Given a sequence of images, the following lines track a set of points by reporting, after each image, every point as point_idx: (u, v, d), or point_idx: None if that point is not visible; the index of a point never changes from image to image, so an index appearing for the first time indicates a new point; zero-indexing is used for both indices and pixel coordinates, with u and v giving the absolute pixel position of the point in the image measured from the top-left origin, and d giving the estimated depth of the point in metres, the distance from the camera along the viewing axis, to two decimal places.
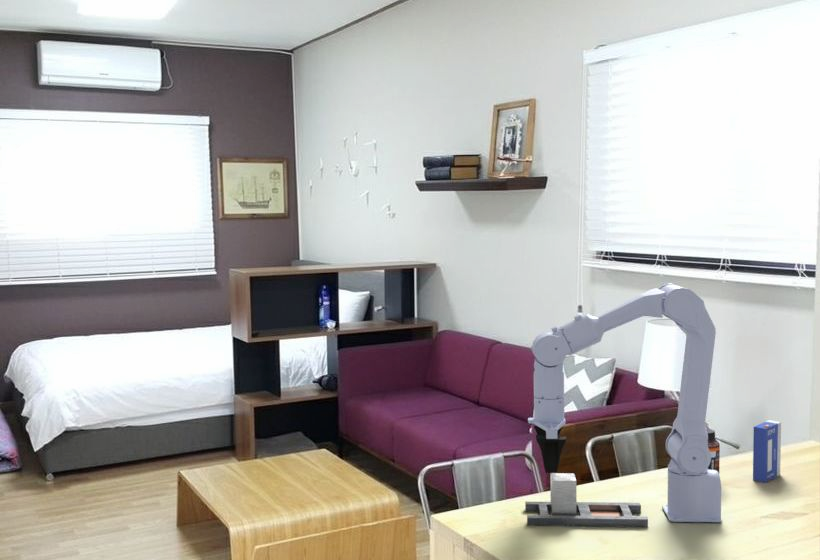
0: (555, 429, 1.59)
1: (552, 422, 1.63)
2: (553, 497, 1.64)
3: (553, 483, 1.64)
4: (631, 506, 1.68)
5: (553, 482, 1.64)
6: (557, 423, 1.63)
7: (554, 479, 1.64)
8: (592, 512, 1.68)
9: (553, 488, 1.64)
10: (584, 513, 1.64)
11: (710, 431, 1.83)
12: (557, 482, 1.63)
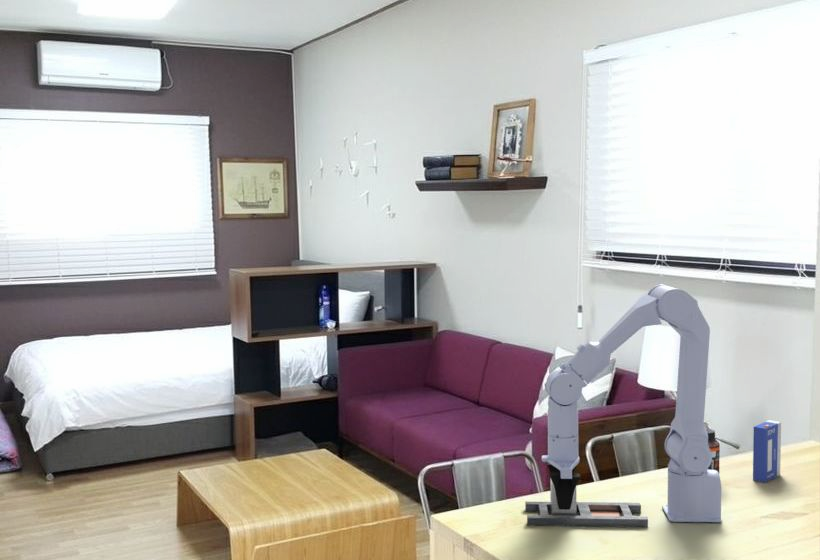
0: (570, 469, 1.58)
1: (566, 461, 1.62)
2: (553, 497, 1.64)
3: None
4: (631, 506, 1.68)
5: None
6: (571, 462, 1.62)
7: None
8: (592, 512, 1.68)
9: (553, 488, 1.64)
10: (584, 513, 1.64)
11: (710, 431, 1.83)
12: None
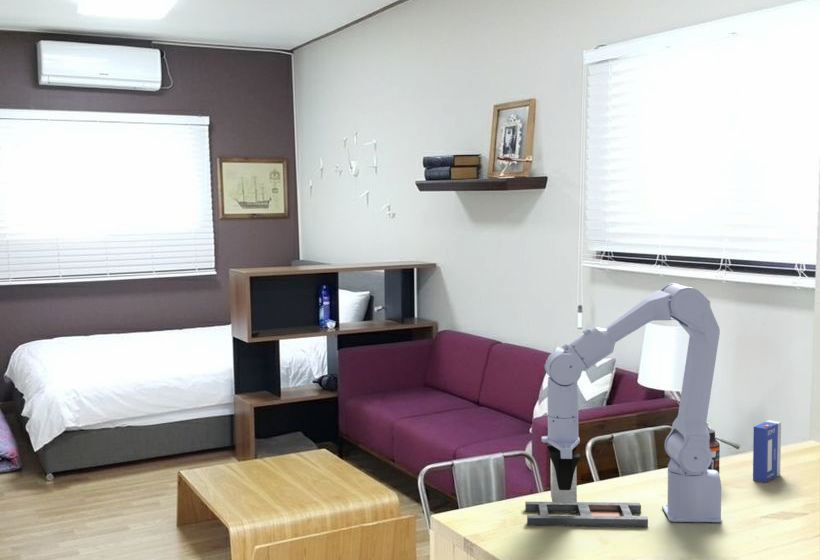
0: (570, 449, 1.58)
1: (566, 441, 1.62)
2: (553, 478, 1.63)
3: (553, 464, 1.63)
4: (631, 506, 1.68)
5: None
6: (571, 442, 1.62)
7: None
8: (592, 512, 1.68)
9: (553, 469, 1.63)
10: (584, 513, 1.64)
11: (710, 431, 1.83)
12: None
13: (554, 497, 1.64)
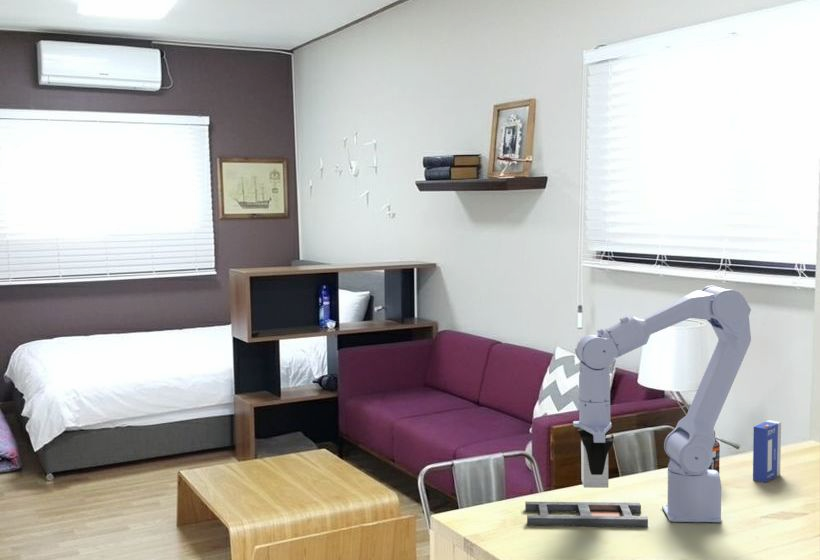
0: (603, 433, 1.57)
1: (598, 425, 1.61)
2: (585, 462, 1.63)
3: (585, 448, 1.62)
4: (631, 506, 1.68)
5: (584, 447, 1.62)
6: (603, 426, 1.61)
7: None
8: (592, 512, 1.68)
9: (585, 453, 1.62)
10: (584, 513, 1.64)
11: None
12: None
13: (586, 482, 1.63)
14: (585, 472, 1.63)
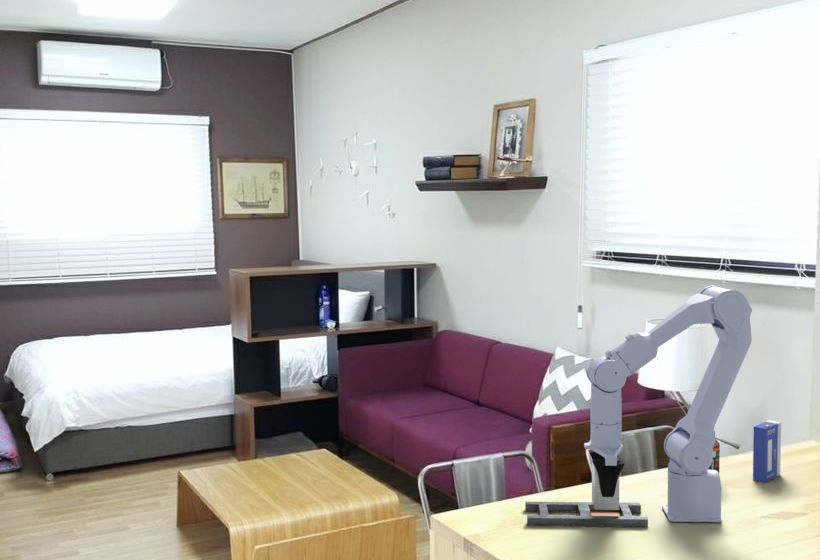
0: (615, 456, 1.57)
1: (610, 448, 1.61)
2: (596, 484, 1.63)
3: (596, 470, 1.63)
4: (631, 506, 1.68)
5: (596, 470, 1.63)
6: (615, 449, 1.61)
7: None
8: (592, 512, 1.68)
9: (596, 475, 1.63)
10: (584, 513, 1.64)
11: None
12: None
13: (597, 504, 1.63)
14: (596, 494, 1.63)
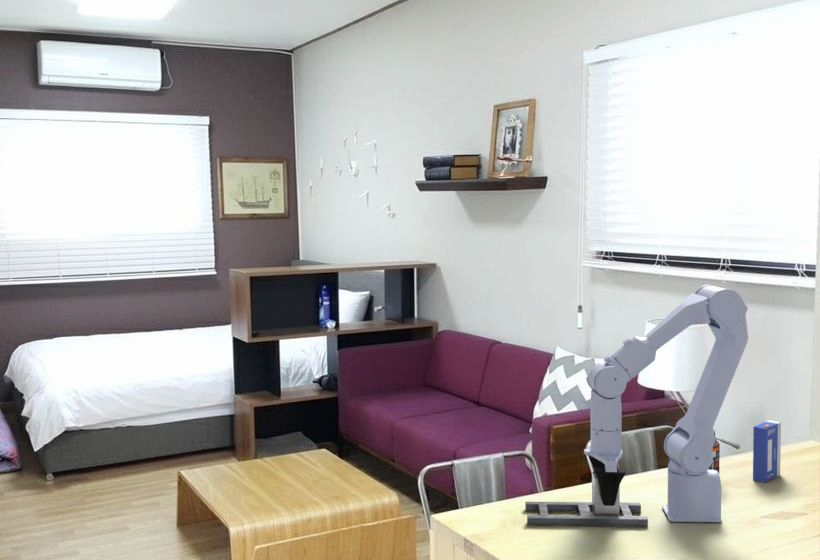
0: (615, 462, 1.57)
1: (610, 454, 1.61)
2: (596, 496, 1.63)
3: (596, 482, 1.63)
4: (631, 506, 1.68)
5: (596, 481, 1.63)
6: (615, 455, 1.62)
7: (597, 478, 1.63)
8: None
9: (596, 487, 1.63)
10: (584, 513, 1.64)
11: None
12: None
13: (597, 515, 1.63)
14: (596, 505, 1.63)
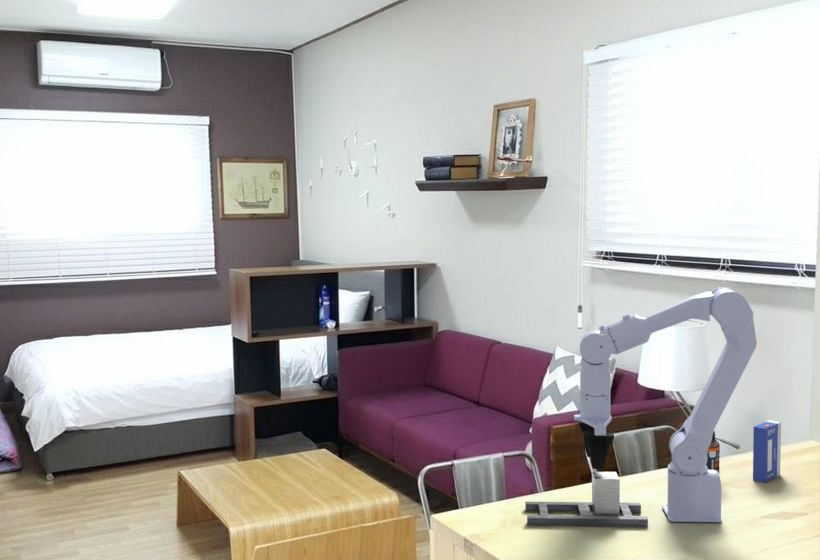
0: (604, 426, 1.61)
1: (599, 419, 1.65)
2: (596, 496, 1.63)
3: (596, 482, 1.63)
4: (631, 506, 1.68)
5: (596, 481, 1.63)
6: (604, 420, 1.66)
7: (597, 478, 1.63)
8: None
9: (596, 487, 1.63)
10: (584, 513, 1.64)
11: None
12: (600, 481, 1.63)
13: (597, 515, 1.63)
14: (596, 505, 1.63)
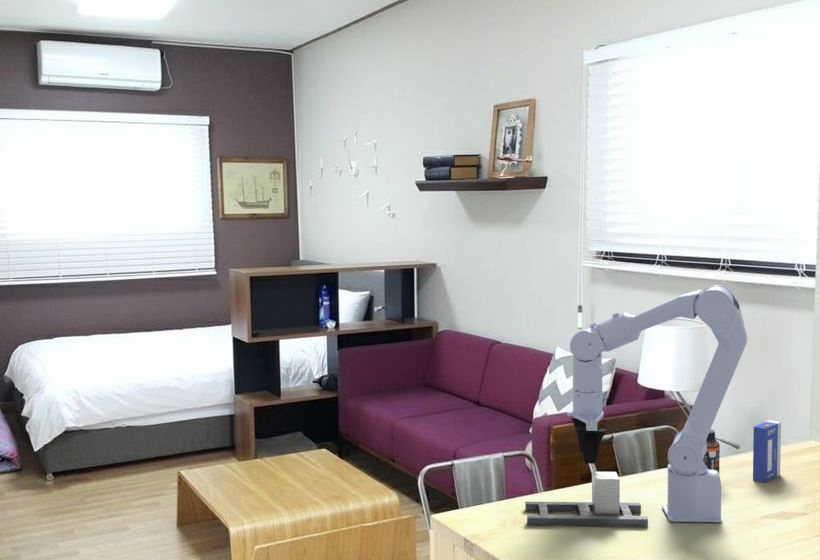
0: (595, 421, 1.65)
1: (591, 415, 1.69)
2: (596, 496, 1.63)
3: (596, 482, 1.63)
4: (631, 506, 1.68)
5: (596, 481, 1.63)
6: (596, 416, 1.69)
7: (597, 478, 1.63)
8: None
9: (596, 487, 1.63)
10: (584, 513, 1.64)
11: (710, 431, 1.83)
12: (600, 481, 1.63)
13: (597, 515, 1.63)
14: (596, 505, 1.63)
